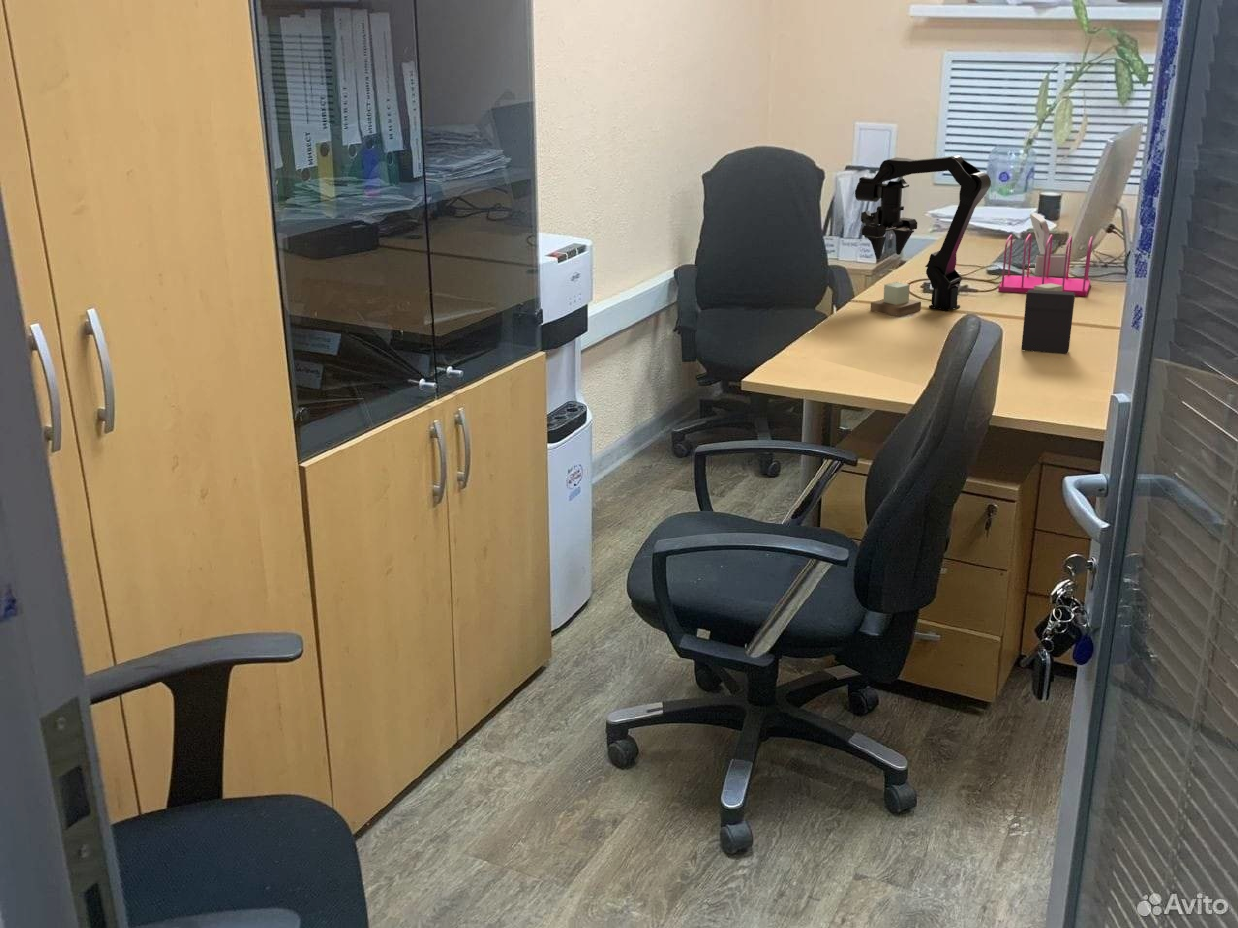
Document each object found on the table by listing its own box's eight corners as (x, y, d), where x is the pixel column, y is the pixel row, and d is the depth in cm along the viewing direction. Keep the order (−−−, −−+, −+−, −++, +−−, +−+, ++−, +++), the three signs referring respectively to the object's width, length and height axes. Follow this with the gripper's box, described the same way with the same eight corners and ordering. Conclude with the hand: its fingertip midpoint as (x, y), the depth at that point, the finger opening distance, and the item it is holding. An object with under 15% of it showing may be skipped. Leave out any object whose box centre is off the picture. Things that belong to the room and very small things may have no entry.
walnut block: (920, 311, 330) (921, 301, 329) (898, 318, 324) (899, 307, 323) (892, 306, 337) (892, 296, 336) (870, 312, 331) (870, 302, 330)
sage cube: (908, 302, 329) (909, 284, 327) (896, 304, 326) (897, 287, 325) (895, 299, 333) (896, 282, 331) (883, 301, 330) (884, 284, 328)
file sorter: (1086, 297, 338) (1092, 244, 332) (997, 292, 348) (1002, 240, 342) (1090, 285, 353) (1095, 233, 347) (1004, 280, 363) (1009, 230, 357)
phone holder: (1068, 276, 364) (1074, 219, 357) (1035, 277, 365) (1041, 220, 359) (1054, 265, 380) (1060, 210, 374) (1023, 265, 381) (1028, 211, 375)
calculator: (1068, 350, 287) (1075, 291, 281) (1067, 355, 283) (1074, 295, 278) (1022, 347, 291) (1028, 288, 286) (1020, 351, 287) (1026, 292, 282)
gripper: (889, 196, 343) (886, 248, 349) (847, 204, 333) (845, 258, 338) (919, 200, 335) (916, 253, 341) (878, 208, 325) (875, 263, 330)
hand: (888, 256), depth 338 cm, fingers open, 9 cm apart
